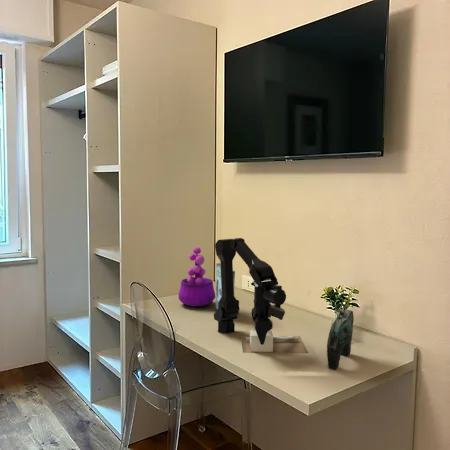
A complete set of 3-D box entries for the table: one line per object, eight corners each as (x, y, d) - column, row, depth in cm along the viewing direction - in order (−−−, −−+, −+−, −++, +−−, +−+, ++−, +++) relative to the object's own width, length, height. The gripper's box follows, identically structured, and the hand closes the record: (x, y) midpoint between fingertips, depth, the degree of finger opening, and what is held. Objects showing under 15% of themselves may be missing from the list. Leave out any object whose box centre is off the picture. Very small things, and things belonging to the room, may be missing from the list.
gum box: (215, 308, 230) (215, 263, 228) (225, 308, 231) (225, 262, 229) (223, 320, 211) (224, 270, 209) (234, 319, 212) (235, 270, 210)
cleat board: (242, 355, 168) (243, 348, 168) (240, 338, 186) (240, 332, 186) (308, 356, 169) (308, 348, 169) (299, 339, 187) (300, 332, 186)
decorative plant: (222, 304, 238) (223, 246, 235) (197, 312, 224) (197, 250, 221) (196, 298, 250) (196, 243, 247) (170, 305, 236) (170, 246, 233)
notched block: (251, 351, 169) (251, 335, 169) (249, 345, 175) (250, 330, 175) (272, 351, 170) (273, 335, 169) (270, 345, 176) (271, 330, 175)
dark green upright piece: (339, 350, 175) (341, 298, 173) (356, 353, 172) (358, 300, 170) (322, 368, 158) (324, 311, 156) (341, 372, 155) (343, 314, 153)
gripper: (287, 306, 162) (286, 349, 163) (280, 293, 180) (279, 332, 182) (255, 305, 161) (254, 349, 163) (251, 292, 180) (251, 331, 181)
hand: (261, 340), depth 172 cm, fingers open, 9 cm apart
